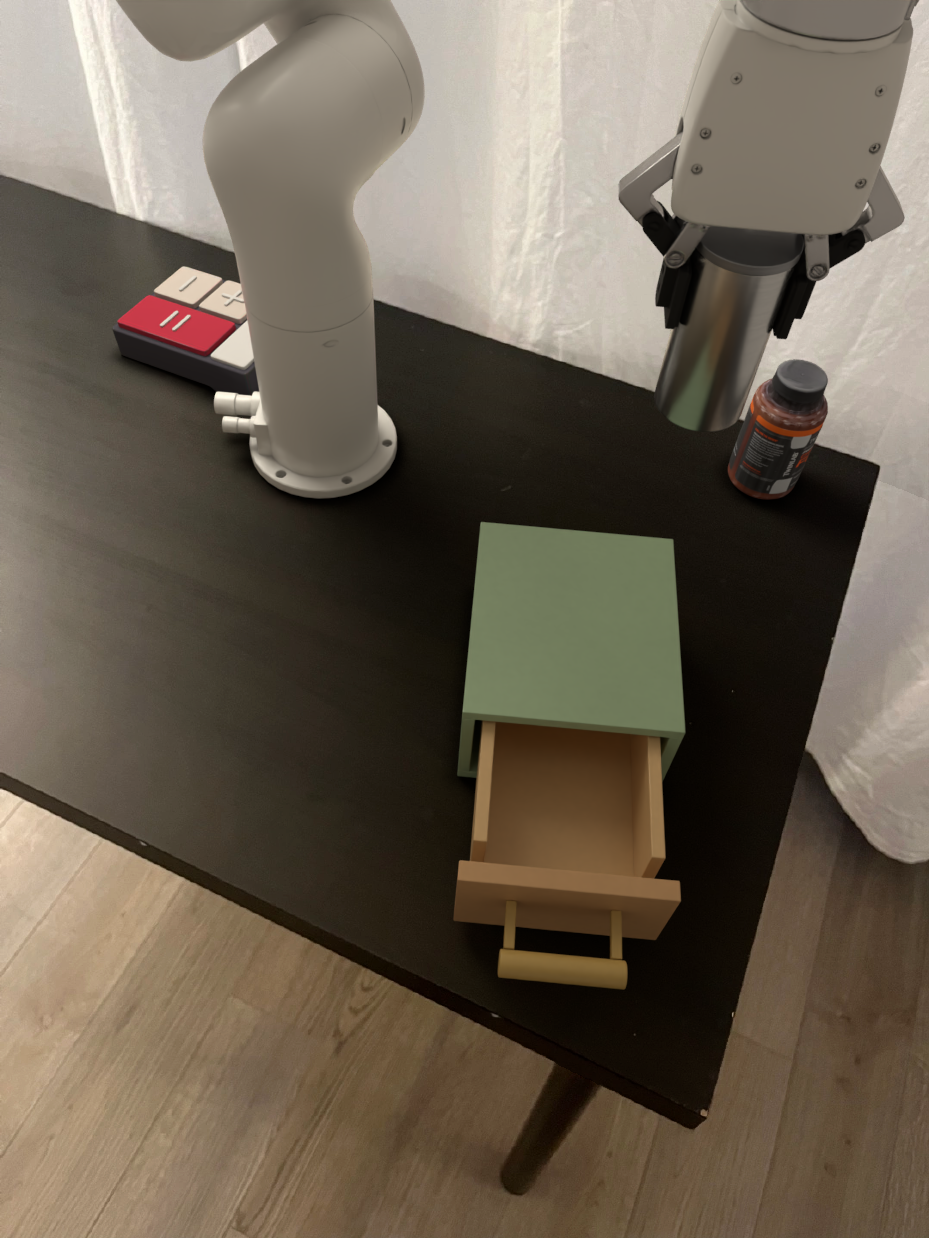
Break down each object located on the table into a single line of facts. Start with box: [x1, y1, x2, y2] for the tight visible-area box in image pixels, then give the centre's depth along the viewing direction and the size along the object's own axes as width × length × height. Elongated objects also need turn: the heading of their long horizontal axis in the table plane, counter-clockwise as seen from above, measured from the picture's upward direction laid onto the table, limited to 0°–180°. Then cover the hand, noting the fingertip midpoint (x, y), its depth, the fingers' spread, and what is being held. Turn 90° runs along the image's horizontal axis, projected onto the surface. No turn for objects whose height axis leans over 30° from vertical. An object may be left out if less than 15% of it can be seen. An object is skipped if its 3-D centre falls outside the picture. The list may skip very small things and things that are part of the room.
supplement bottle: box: [727, 358, 829, 501], centre depth 79 cm, size 6×6×11 cm
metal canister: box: [653, 226, 804, 433], centre depth 58 cm, size 6×6×12 cm
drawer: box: [453, 720, 682, 990], centre depth 58 cm, size 19×12×7 cm, turn 175°
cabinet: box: [456, 521, 686, 783], centre depth 66 cm, size 16×14×9 cm
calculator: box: [112, 266, 259, 396], centre depth 89 cm, size 11×4×15 cm
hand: (724, 317), depth 57 cm, fingers closed on metal canister, 5 cm apart
